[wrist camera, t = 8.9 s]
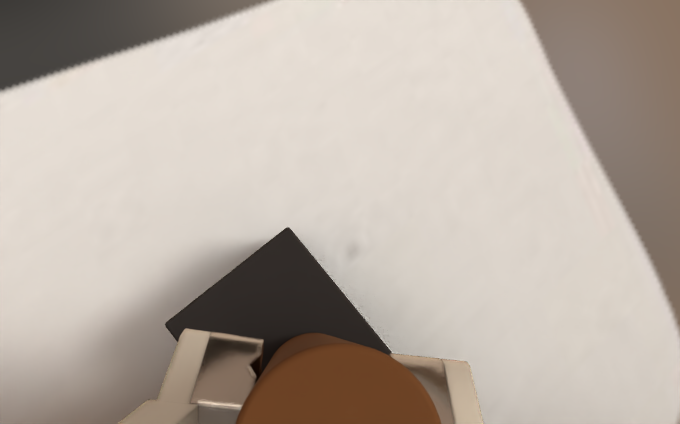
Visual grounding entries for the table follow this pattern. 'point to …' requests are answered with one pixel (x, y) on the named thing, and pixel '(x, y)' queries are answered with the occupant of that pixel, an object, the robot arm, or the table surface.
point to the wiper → (306, 344)
